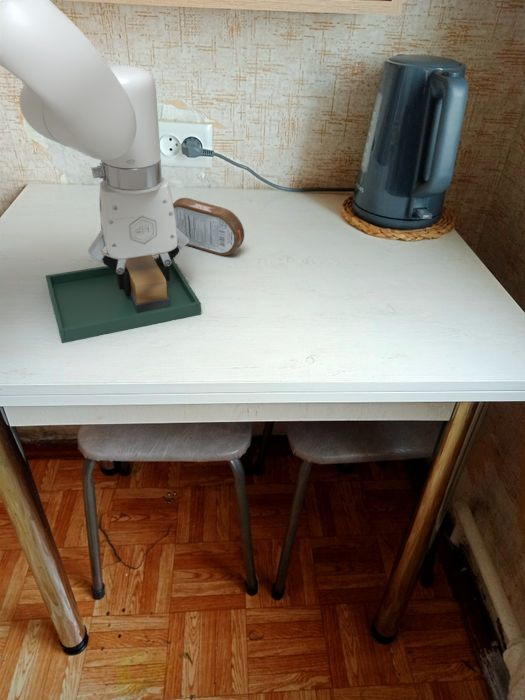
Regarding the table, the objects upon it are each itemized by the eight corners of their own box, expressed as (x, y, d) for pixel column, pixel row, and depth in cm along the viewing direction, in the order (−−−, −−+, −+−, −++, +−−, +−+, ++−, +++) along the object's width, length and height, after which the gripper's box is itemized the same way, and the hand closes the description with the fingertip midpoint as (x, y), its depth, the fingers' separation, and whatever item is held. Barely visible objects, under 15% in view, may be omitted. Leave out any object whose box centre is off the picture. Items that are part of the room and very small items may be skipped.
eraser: (137, 313, 75) (134, 286, 72) (121, 279, 82) (118, 253, 79) (169, 307, 77) (168, 280, 74) (152, 274, 84) (150, 248, 81)
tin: (244, 255, 92) (246, 211, 87) (236, 262, 90) (237, 218, 85) (173, 234, 97) (171, 191, 91) (164, 241, 94) (161, 197, 89)
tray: (61, 343, 70) (59, 331, 69) (48, 286, 80) (45, 275, 79) (201, 314, 77) (200, 303, 76) (171, 266, 88) (171, 255, 86)
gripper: (70, 190, 62) (93, 312, 74) (203, 176, 68) (204, 290, 80) (61, 168, 67) (84, 285, 79) (185, 157, 73) (189, 267, 85)
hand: (144, 287), depth 79 cm, fingers closed on eraser, 5 cm apart
